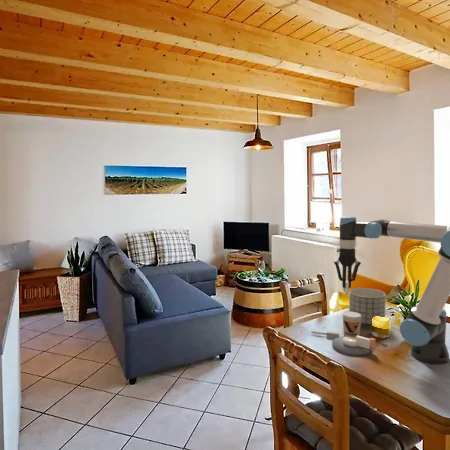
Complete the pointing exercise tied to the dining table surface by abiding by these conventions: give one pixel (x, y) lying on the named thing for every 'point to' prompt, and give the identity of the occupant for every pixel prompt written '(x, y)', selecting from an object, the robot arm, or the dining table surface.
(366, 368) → the dining table surface
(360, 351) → the dark grey round plate
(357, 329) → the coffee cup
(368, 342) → the cream rounded piece
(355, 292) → the planter
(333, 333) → the screwdriver
